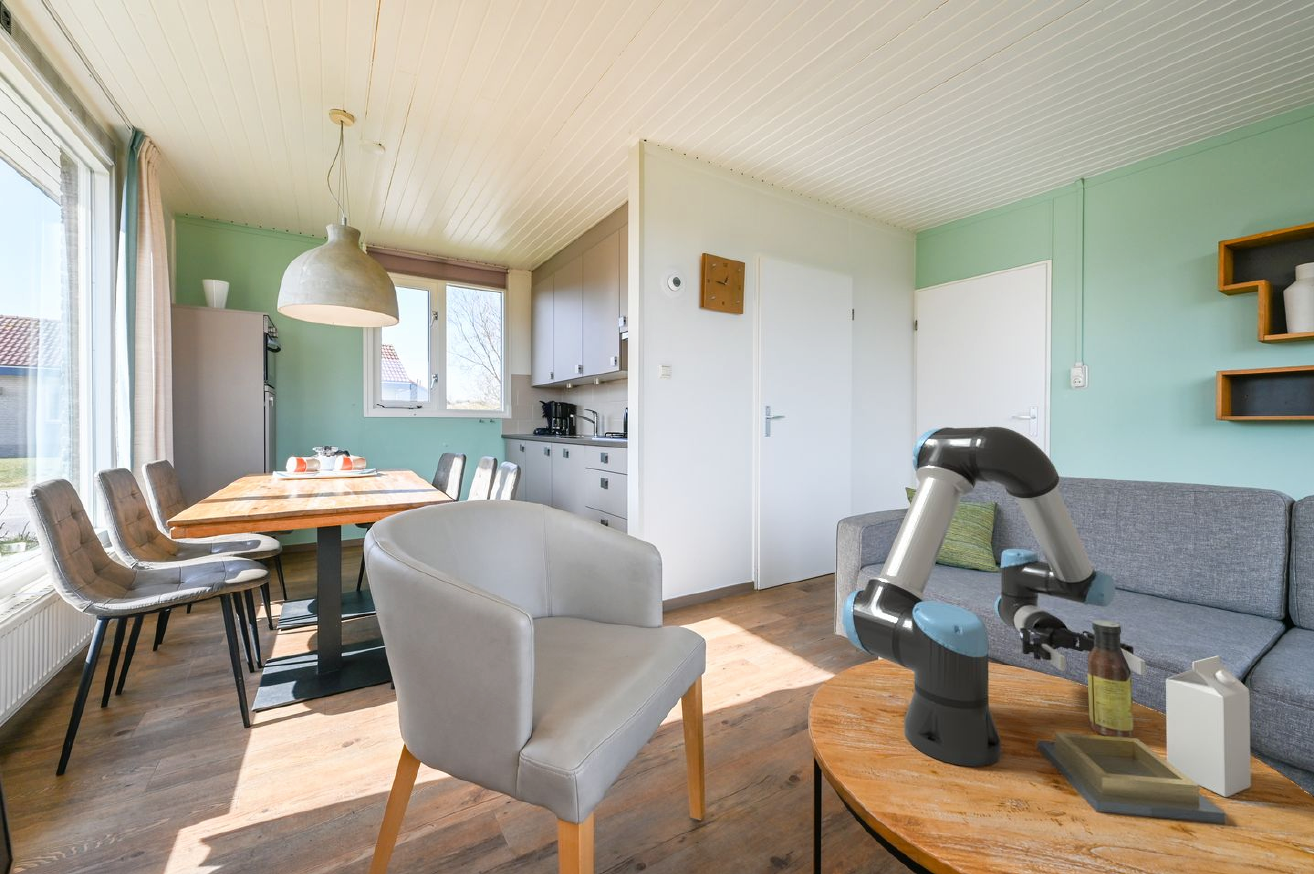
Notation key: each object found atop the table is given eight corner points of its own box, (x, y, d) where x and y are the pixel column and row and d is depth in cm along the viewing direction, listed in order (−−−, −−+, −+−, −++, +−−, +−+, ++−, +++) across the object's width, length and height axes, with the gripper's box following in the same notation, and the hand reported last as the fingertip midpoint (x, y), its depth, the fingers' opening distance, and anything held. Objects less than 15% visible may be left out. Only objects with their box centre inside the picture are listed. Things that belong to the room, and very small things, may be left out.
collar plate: (1096, 811, 78) (1096, 783, 78) (1037, 748, 93) (1037, 725, 93) (1225, 824, 75) (1224, 795, 75) (1141, 757, 91) (1141, 733, 91)
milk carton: (1166, 771, 87) (1164, 653, 87) (1192, 761, 89) (1190, 647, 89) (1225, 798, 80) (1223, 671, 80) (1251, 787, 83) (1249, 664, 83)
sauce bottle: (1143, 742, 95) (1141, 630, 95) (1107, 741, 95) (1106, 630, 95) (1112, 722, 102) (1111, 617, 102) (1079, 722, 102) (1078, 617, 102)
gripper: (1102, 646, 121) (1177, 690, 100) (982, 640, 125) (1030, 681, 104) (1101, 613, 121) (1177, 649, 100) (981, 608, 125) (1030, 642, 104)
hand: (1102, 665), depth 102 cm, fingers open, 13 cm apart
